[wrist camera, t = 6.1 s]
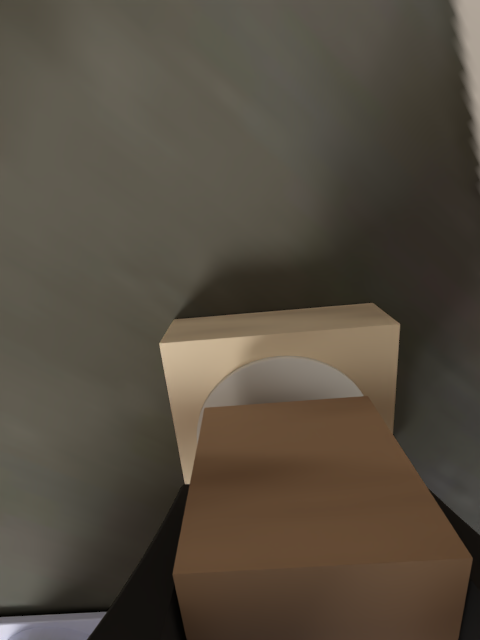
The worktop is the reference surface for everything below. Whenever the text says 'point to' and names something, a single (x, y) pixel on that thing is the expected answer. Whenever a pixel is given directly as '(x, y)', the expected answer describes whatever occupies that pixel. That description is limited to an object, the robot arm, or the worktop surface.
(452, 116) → the worktop surface
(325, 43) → the worktop surface
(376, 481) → the walnut cube
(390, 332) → the base block
